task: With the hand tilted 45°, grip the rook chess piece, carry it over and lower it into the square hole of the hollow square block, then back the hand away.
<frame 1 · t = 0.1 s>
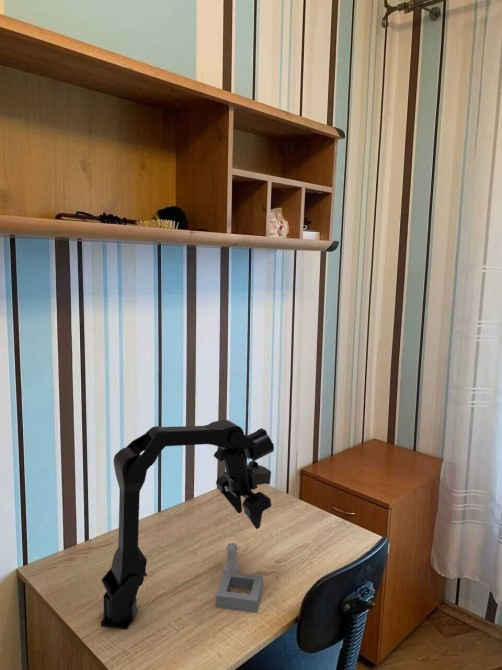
hand: (248, 520, 135), 15 cm above the table, tool pointing down, fingers open, 9 cm apart
hollow square block: (240, 596, 128), on the table
rook chess piece: (231, 573, 138), on the table
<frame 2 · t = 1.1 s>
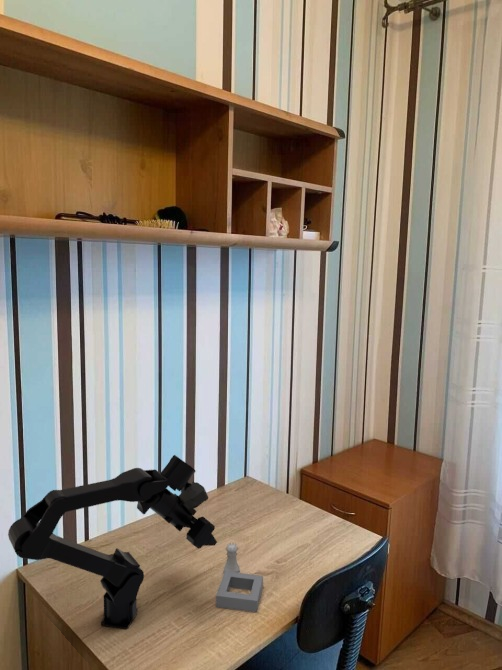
hand: (206, 535, 131), 13 cm above the table, tool tilted 45°, fingers open, 9 cm apart
nothing on the table moved.
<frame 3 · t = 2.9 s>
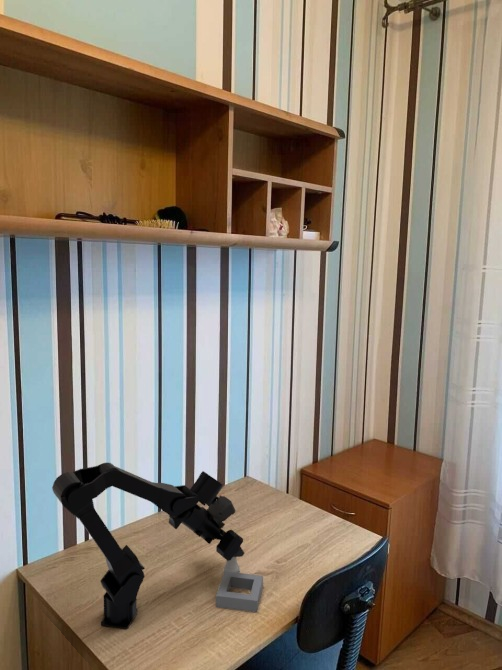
hand: (233, 546, 137), 8 cm above the table, tool tilted 45°, fingers open, 9 cm apart
nothing on the table moved.
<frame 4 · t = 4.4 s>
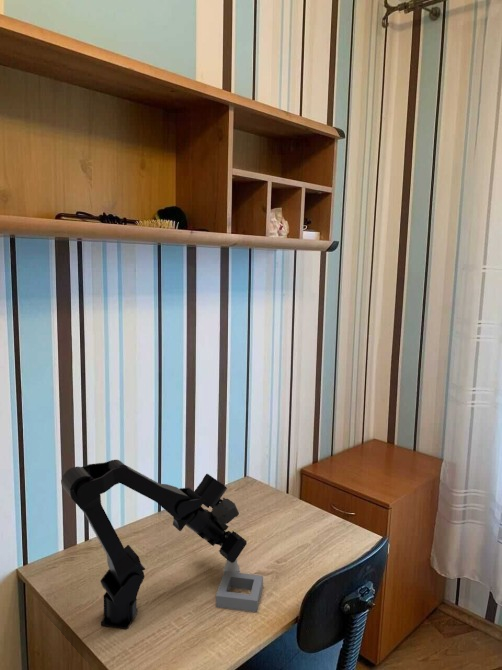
hand: (236, 548, 138), 7 cm above the table, tool tilted 45°, fingers closed on rook chess piece, 3 cm apart
rook chess piece: (231, 573, 138), on the table, touching gripper
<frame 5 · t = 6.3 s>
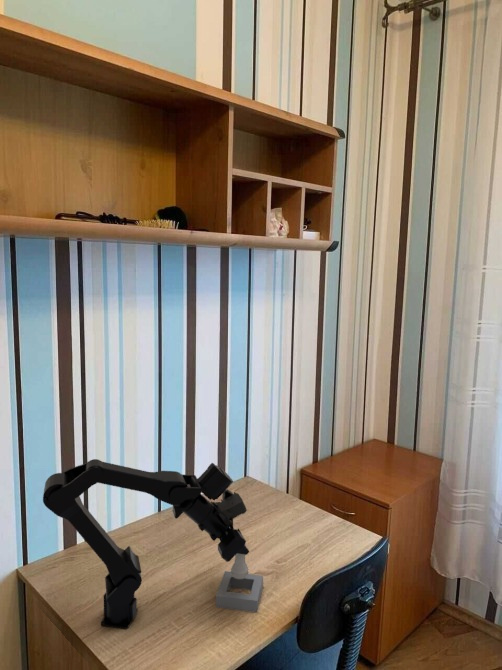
hand: (245, 548, 127), 12 cm above the table, tool tilted 45°, fingers closed on rook chess piece, 3 cm apart
rook chess piece: (239, 575, 128), point 5 cm above the table, touching gripper
when the fingers open (7 cm above the table, at t = 8.2 s): rook chess piece stays where it is, resting in hollow square block.
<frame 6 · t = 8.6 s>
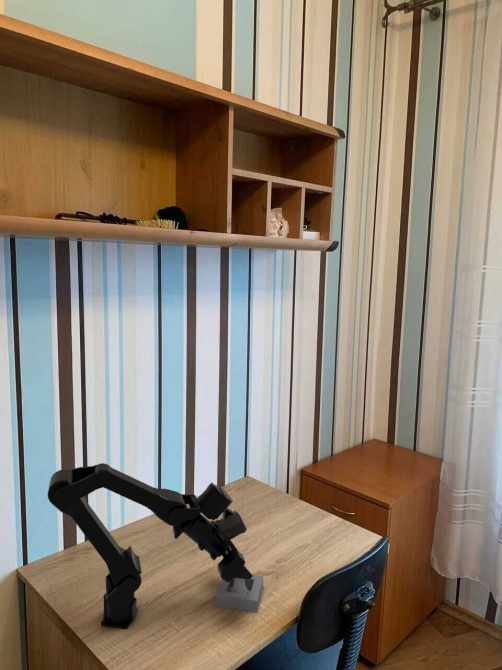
hand: (246, 567, 128), 8 cm above the table, tool tilted 45°, fingers open, 8 cm apart
rook chess piece: (239, 597, 128), resting in hollow square block
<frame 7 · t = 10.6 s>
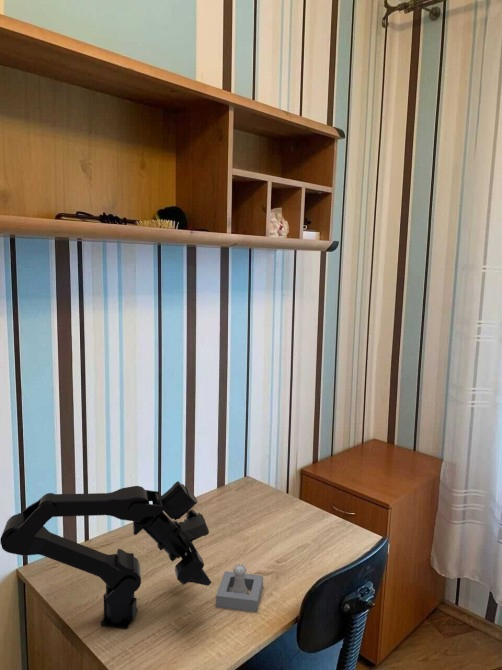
hand: (205, 572, 124), 8 cm above the table, tool tilted 40°, fingers open, 9 cm apart
nothing on the table moved.
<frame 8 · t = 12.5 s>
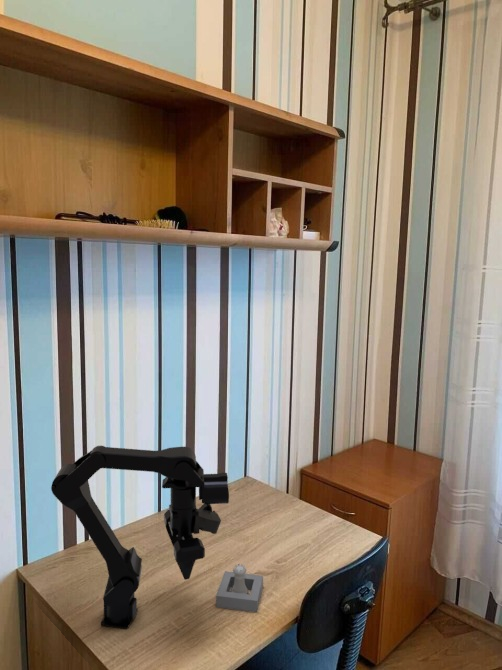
hand: (183, 567, 120), 12 cm above the table, tool pointing down, fingers open, 9 cm apart
nothing on the table moved.
at the end: rook chess piece 0.2 cm off-centre on the hollow square block, point 0.0 cm above the hollow square block's base; rook chess piece tilted 0°; the gripper is holding nothing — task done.
